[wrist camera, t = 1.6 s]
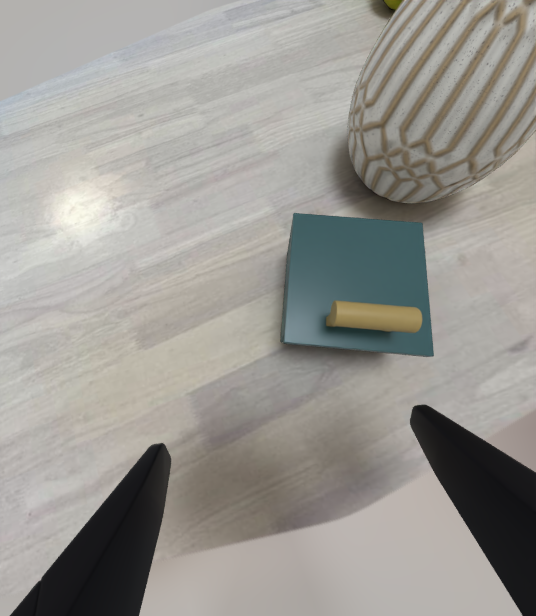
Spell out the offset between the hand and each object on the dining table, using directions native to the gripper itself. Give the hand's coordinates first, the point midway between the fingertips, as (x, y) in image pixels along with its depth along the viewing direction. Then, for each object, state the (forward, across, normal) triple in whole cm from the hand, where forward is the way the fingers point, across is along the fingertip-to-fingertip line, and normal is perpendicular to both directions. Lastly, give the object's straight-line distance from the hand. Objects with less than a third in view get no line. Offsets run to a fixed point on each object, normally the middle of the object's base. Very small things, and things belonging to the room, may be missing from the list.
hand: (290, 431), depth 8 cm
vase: (+27, -18, -8) cm, 34 cm away
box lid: (+12, -7, -1) cm, 14 cm away
